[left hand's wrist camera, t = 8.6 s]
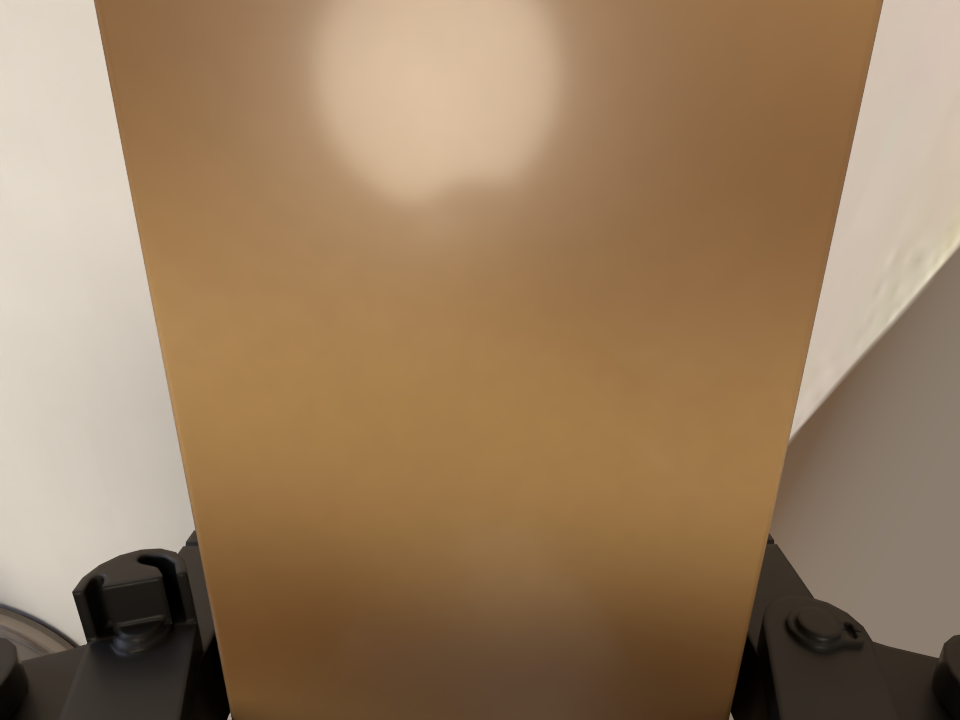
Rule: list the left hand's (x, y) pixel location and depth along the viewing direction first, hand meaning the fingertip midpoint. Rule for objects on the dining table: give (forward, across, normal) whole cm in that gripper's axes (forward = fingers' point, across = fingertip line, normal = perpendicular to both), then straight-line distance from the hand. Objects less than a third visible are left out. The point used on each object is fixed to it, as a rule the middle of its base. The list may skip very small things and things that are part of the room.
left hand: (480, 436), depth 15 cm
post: (+1, 0, -19) cm, 19 cm away
